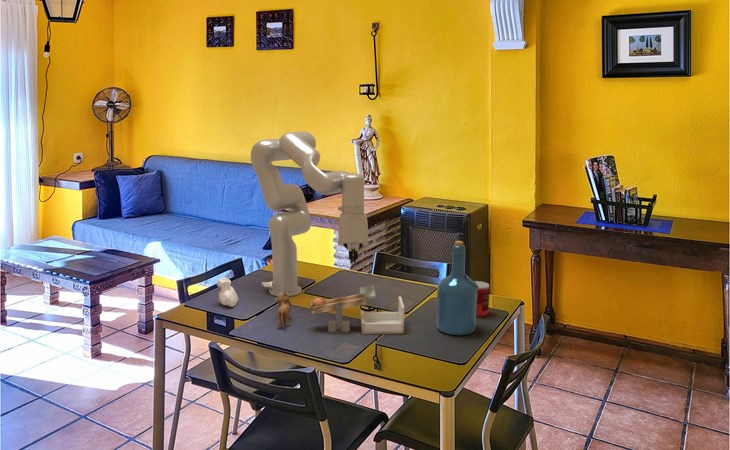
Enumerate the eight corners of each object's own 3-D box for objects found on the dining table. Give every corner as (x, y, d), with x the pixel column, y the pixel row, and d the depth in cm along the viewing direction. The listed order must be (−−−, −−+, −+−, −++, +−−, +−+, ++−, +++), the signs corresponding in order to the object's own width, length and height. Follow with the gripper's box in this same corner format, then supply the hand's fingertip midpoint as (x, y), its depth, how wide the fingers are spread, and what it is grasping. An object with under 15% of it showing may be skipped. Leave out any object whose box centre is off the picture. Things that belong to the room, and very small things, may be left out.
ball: (314, 310, 196) (311, 301, 195) (314, 306, 199) (312, 297, 198) (323, 307, 196) (321, 298, 195) (324, 304, 199) (321, 295, 198)
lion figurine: (275, 315, 210) (274, 291, 208) (290, 314, 211) (289, 290, 210) (277, 331, 196) (277, 305, 194) (294, 330, 197) (293, 304, 196)
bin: (362, 334, 194) (362, 307, 192) (360, 321, 205) (360, 296, 203) (403, 333, 195) (404, 307, 193) (400, 321, 205) (400, 296, 203)
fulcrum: (328, 333, 194) (327, 306, 192) (328, 323, 203) (328, 296, 201) (349, 333, 195) (349, 305, 193) (349, 322, 204) (349, 296, 202)
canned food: (463, 310, 216) (464, 281, 214) (484, 309, 217) (486, 280, 215) (468, 318, 209) (469, 287, 206) (490, 317, 209) (492, 287, 207)
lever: (311, 314, 195) (310, 305, 194) (313, 298, 211) (312, 290, 210) (376, 302, 195) (375, 294, 194) (374, 287, 211) (372, 279, 210)
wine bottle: (439, 337, 192) (442, 246, 186) (432, 322, 205) (435, 236, 199) (481, 336, 193) (485, 246, 186) (472, 321, 206) (476, 236, 199)
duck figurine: (229, 304, 228) (209, 282, 225) (244, 291, 228) (225, 270, 225) (227, 315, 216) (206, 292, 213) (243, 302, 216) (223, 279, 213)
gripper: (331, 212, 201) (331, 264, 205) (375, 211, 202) (375, 264, 205) (331, 208, 208) (331, 258, 212) (374, 207, 209) (373, 258, 213)
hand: (353, 261), depth 209 cm, fingers closed
